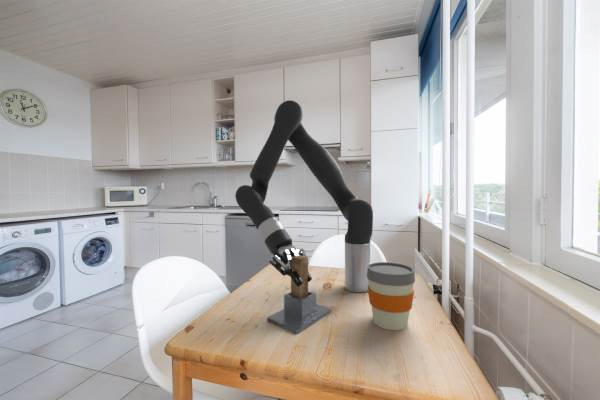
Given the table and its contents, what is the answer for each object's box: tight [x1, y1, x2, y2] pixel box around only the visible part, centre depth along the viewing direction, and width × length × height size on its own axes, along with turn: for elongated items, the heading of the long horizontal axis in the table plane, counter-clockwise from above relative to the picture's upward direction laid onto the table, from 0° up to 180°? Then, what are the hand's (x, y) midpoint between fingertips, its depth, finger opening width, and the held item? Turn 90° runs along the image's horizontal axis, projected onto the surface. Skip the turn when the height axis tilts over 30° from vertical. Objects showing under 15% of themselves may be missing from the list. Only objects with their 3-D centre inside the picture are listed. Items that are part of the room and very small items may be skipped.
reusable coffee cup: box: [367, 261, 416, 331], centre depth 73 cm, size 12×13×15 cm
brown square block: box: [290, 255, 309, 299], centre depth 77 cm, size 4×4×12 cm
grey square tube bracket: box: [266, 290, 333, 335], centre depth 77 cm, size 16×11×6 cm
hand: (305, 282), depth 76 cm, fingers closed on brown square block, 3 cm apart
